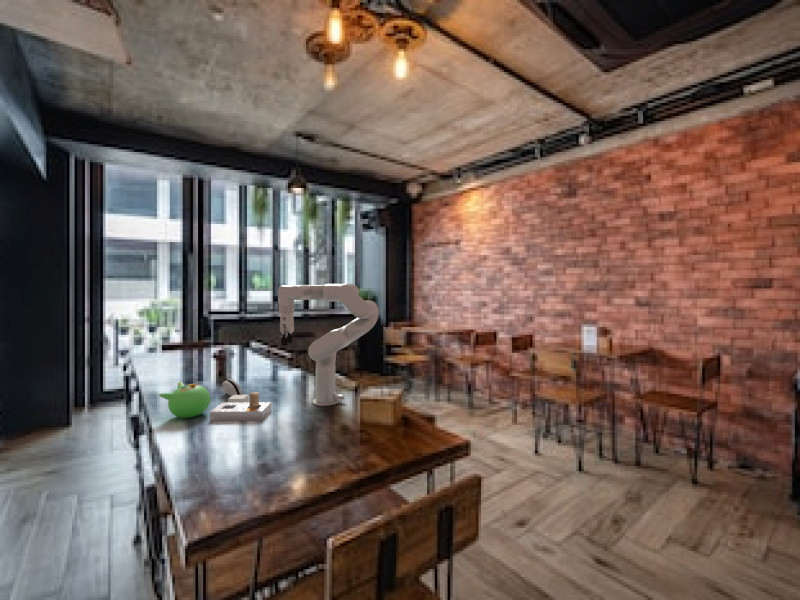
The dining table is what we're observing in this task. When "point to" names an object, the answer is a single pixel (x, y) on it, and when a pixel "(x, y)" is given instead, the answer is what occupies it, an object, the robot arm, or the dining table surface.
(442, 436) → the dining table surface
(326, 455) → the dining table surface
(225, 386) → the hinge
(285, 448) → the dining table surface
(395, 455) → the dining table surface
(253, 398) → the peg
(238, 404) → the plate
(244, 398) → the beige square block
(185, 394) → the toy bird
